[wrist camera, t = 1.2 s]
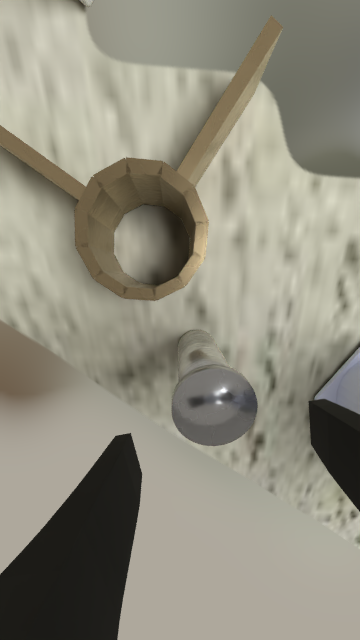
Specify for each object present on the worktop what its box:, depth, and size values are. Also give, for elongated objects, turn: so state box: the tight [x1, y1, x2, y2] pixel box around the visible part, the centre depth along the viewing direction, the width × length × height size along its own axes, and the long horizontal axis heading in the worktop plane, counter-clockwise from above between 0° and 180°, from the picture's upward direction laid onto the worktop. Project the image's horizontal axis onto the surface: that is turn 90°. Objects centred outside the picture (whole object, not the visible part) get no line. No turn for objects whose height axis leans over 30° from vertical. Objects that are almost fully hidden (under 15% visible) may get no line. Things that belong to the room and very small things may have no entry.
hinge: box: [0, 16, 283, 301], centre depth 13 cm, size 16×16×5 cm
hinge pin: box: [172, 330, 257, 446], centre depth 14 cm, size 4×4×9 cm
